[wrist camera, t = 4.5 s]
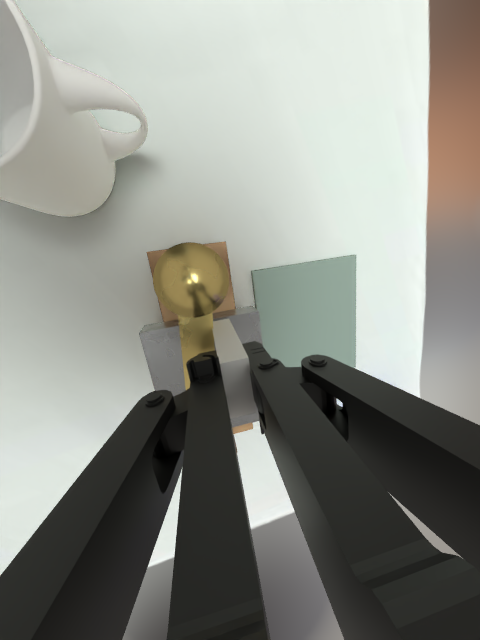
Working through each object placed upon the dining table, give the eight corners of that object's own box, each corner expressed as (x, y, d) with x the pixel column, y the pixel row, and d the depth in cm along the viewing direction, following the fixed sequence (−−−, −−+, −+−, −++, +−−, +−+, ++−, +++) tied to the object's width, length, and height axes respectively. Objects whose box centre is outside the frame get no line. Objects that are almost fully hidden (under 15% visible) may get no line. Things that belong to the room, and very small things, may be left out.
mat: (251, 271, 24) (252, 271, 24) (353, 254, 26) (356, 254, 26) (265, 386, 28) (266, 388, 28) (353, 365, 30) (355, 367, 29)
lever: (159, 247, 14) (148, 243, 10) (218, 246, 15) (227, 241, 11) (182, 441, 18) (179, 487, 14) (228, 432, 18) (237, 475, 15)
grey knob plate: (144, 325, 18) (137, 335, 16) (252, 305, 20) (261, 312, 17) (171, 427, 21) (169, 449, 19) (264, 404, 23) (273, 421, 20)
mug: (168, 210, 21) (147, 164, 11) (22, 224, 19) (-167, 185, 9) (146, 95, 19) (92, -97, 9) (-23, 98, 17) (-349, -145, 7)
